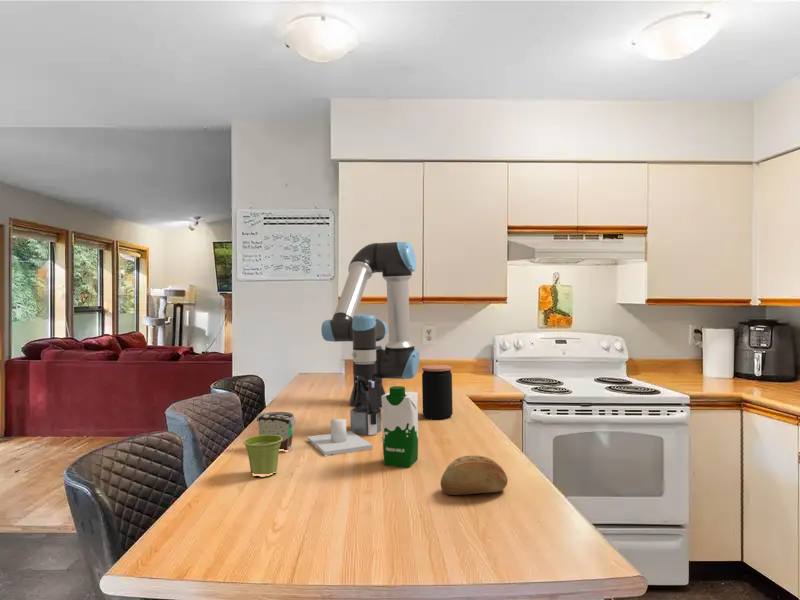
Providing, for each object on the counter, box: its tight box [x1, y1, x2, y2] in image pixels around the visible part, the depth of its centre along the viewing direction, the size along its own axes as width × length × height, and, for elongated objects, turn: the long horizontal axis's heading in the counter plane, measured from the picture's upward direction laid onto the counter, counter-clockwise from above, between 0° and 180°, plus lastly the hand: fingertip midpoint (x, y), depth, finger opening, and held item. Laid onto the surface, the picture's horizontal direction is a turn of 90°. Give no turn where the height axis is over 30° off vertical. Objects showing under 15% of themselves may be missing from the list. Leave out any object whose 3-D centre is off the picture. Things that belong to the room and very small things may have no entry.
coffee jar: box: [421, 364, 454, 421], centre depth 192 cm, size 11×11×18 cm
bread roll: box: [440, 455, 508, 496], centre depth 118 cm, size 10×15×8 cm, turn 97°
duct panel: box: [306, 418, 373, 456], centre depth 158 cm, size 18×14×7 cm
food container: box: [256, 411, 296, 450], centre depth 156 cm, size 12×6×10 cm, turn 65°
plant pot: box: [243, 434, 282, 474], centre depth 133 cm, size 9×9×9 cm
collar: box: [349, 406, 382, 436], centre depth 174 cm, size 9×9×7 cm
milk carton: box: [381, 385, 419, 468], centre depth 140 cm, size 9×9×20 cm
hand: (365, 430), depth 173 cm, fingers open, 11 cm apart
